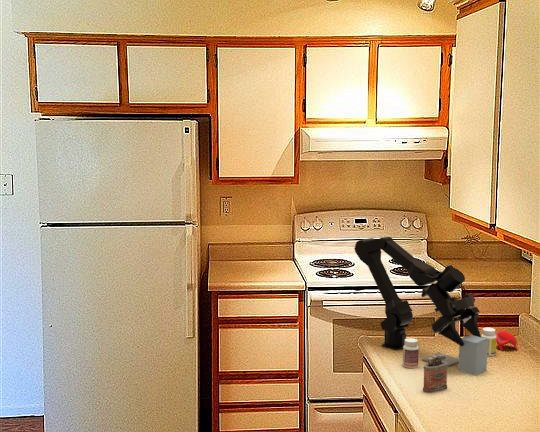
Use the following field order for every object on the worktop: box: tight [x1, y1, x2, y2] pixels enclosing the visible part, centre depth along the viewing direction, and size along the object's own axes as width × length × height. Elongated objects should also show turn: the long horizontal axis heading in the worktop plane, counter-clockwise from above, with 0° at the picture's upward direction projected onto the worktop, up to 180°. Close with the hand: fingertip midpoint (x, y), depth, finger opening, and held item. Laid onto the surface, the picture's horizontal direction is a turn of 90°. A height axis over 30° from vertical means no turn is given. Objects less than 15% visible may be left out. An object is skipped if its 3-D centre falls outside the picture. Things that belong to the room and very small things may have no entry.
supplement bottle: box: [480, 327, 497, 357], centre depth 230 cm, size 5×5×8 cm
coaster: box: [421, 352, 459, 368], centre depth 224 cm, size 9×9×1 cm
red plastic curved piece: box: [495, 330, 518, 351], centre depth 235 cm, size 8×6×6 cm
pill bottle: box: [402, 337, 420, 369], centre depth 219 cm, size 5×5×8 cm
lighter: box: [422, 353, 448, 394], centre depth 201 cm, size 8×3×10 cm, turn 117°
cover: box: [457, 334, 488, 376], centre depth 215 cm, size 6×6×10 cm
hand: (471, 342), depth 215 cm, fingers open, 9 cm apart
